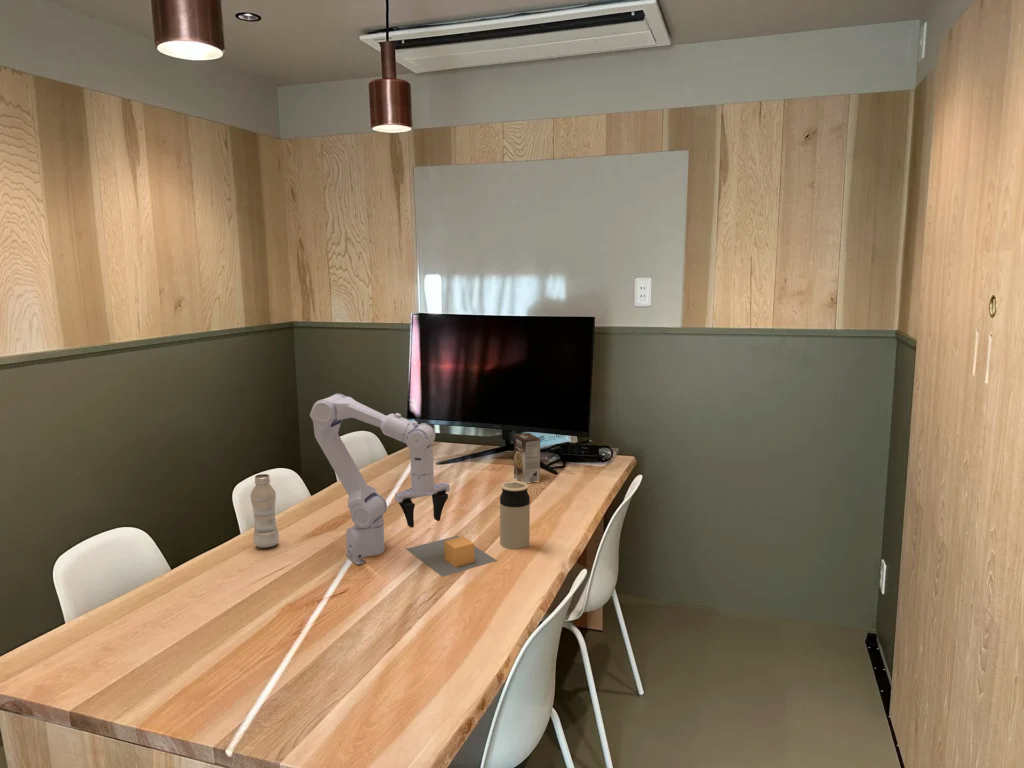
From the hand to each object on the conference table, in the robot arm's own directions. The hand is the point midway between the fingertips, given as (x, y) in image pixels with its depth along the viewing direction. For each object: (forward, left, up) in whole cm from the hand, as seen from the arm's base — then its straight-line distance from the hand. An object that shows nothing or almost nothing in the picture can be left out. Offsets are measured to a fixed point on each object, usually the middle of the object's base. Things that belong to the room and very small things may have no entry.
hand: (424, 523), depth 178 cm
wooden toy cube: (+6, -8, -9) cm, 13 cm away
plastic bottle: (-31, +33, -11) cm, 47 cm away
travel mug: (+24, -7, -11) cm, 27 cm away
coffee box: (+62, +40, -11) cm, 74 cm away
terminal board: (+6, -3, -10) cm, 12 cm away
